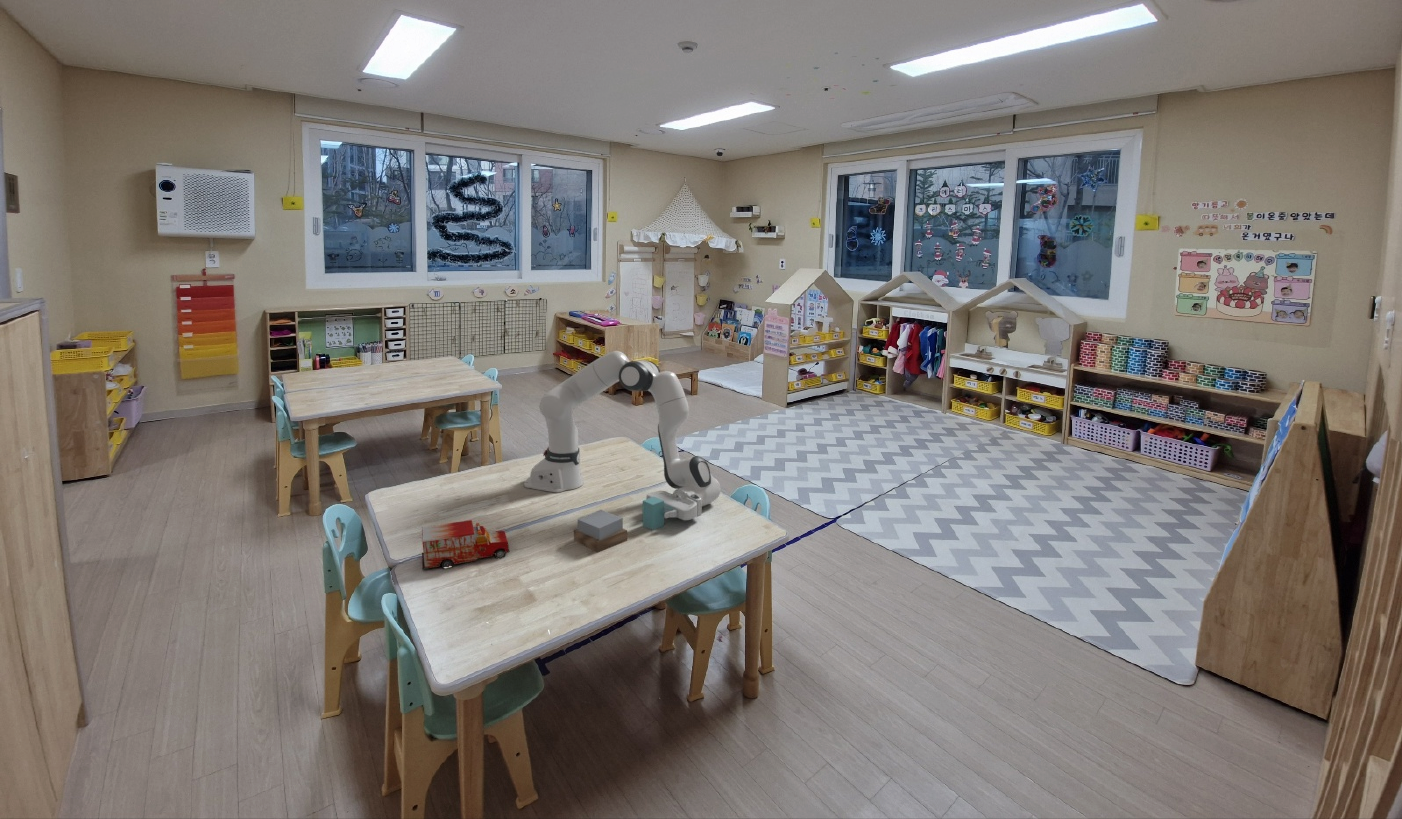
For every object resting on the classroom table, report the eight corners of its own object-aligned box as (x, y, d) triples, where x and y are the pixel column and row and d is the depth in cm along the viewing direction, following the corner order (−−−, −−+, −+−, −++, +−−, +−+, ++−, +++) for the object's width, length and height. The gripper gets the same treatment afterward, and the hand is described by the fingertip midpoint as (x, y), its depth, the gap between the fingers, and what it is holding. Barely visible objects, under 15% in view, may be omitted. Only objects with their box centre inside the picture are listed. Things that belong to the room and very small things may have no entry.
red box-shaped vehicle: (511, 558, 200) (509, 528, 197) (422, 573, 191) (419, 541, 188) (506, 543, 210) (504, 514, 207) (422, 556, 201) (419, 526, 198)
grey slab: (577, 530, 211) (577, 519, 210) (601, 520, 218) (600, 509, 217) (599, 540, 205) (599, 528, 204) (622, 529, 212) (622, 518, 211)
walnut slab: (574, 541, 212) (573, 529, 211) (603, 529, 221) (603, 518, 220) (597, 553, 204) (596, 542, 203) (627, 541, 213) (627, 530, 212)
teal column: (642, 525, 224) (642, 500, 221) (654, 520, 227) (653, 496, 225) (652, 530, 220) (652, 504, 218) (663, 525, 224) (663, 500, 221)
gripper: (663, 483, 238) (634, 493, 229) (704, 500, 225) (674, 511, 215) (663, 500, 240) (634, 510, 231) (704, 517, 226) (674, 529, 217)
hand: (654, 511), depth 223 cm, fingers open, 8 cm apart
